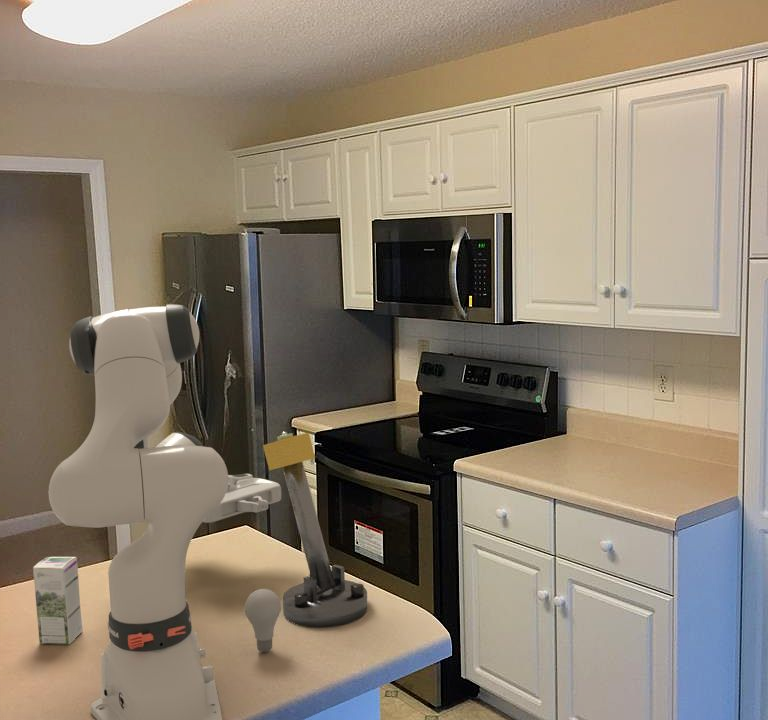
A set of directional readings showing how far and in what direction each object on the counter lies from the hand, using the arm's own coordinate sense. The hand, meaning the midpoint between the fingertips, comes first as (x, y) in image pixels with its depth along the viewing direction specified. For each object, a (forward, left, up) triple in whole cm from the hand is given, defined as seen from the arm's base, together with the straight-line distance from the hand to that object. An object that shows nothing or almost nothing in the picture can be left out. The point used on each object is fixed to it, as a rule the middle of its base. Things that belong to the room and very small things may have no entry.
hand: (262, 506), depth 173 cm
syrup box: (-2, +40, -18) cm, 43 cm away
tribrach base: (-15, -6, -17) cm, 24 cm away
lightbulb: (-26, +10, -18) cm, 33 cm away
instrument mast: (-15, -6, -13) cm, 21 cm away
